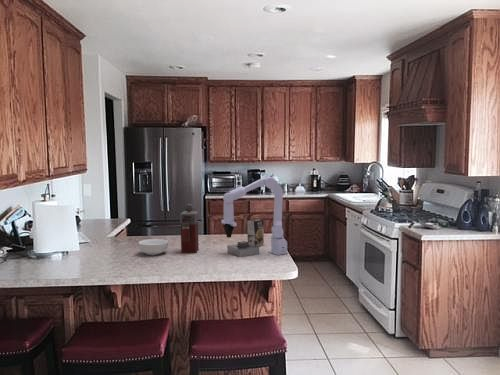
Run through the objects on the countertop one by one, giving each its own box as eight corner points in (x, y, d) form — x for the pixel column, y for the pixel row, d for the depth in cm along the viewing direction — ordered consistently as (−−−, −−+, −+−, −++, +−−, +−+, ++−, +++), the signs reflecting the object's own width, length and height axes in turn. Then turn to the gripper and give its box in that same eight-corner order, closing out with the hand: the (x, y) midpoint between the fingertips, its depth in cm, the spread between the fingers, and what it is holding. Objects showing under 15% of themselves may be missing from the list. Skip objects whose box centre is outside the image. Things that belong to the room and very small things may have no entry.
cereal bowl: (161, 257, 236) (161, 245, 236) (133, 256, 240) (133, 244, 239) (172, 250, 253) (172, 239, 252) (146, 249, 256) (146, 238, 256)
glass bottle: (180, 254, 244) (179, 205, 242) (183, 249, 255) (182, 203, 253) (195, 254, 244) (194, 205, 242) (198, 249, 255) (197, 203, 253)
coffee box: (255, 247, 259) (255, 221, 258) (247, 246, 263) (246, 220, 262) (264, 244, 266) (264, 219, 265) (255, 243, 270) (255, 218, 269)
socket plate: (259, 254, 242) (259, 247, 242) (239, 257, 235) (239, 250, 235) (246, 249, 254) (246, 242, 254) (227, 252, 247) (227, 245, 247)
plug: (248, 251, 244) (248, 242, 244) (241, 252, 241) (241, 243, 241) (244, 250, 247) (244, 240, 247) (237, 251, 245) (237, 241, 244)
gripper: (216, 212, 246) (216, 236, 247) (228, 215, 234) (229, 240, 235) (227, 211, 250) (227, 234, 251) (239, 214, 238) (240, 238, 239)
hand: (229, 237), depth 243 cm, fingers closed
